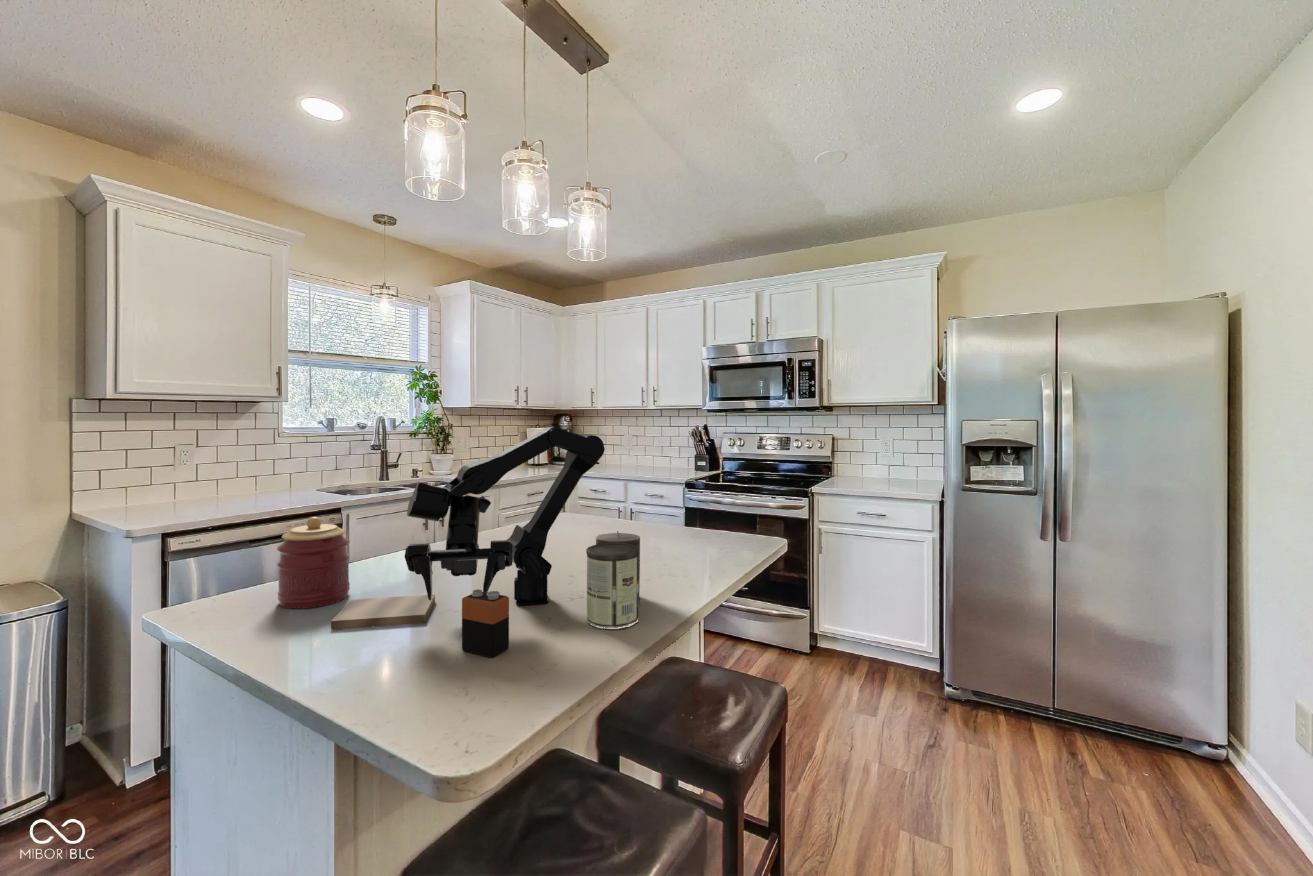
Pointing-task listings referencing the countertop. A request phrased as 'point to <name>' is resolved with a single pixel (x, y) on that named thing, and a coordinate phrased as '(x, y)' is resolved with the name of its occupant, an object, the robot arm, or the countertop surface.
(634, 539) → the pillar candle
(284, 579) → the canister
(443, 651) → the countertop surface
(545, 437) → the robot arm
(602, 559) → the coffee can
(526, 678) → the countertop surface
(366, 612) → the walnut cutting board
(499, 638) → the battery
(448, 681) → the countertop surface
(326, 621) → the countertop surface
